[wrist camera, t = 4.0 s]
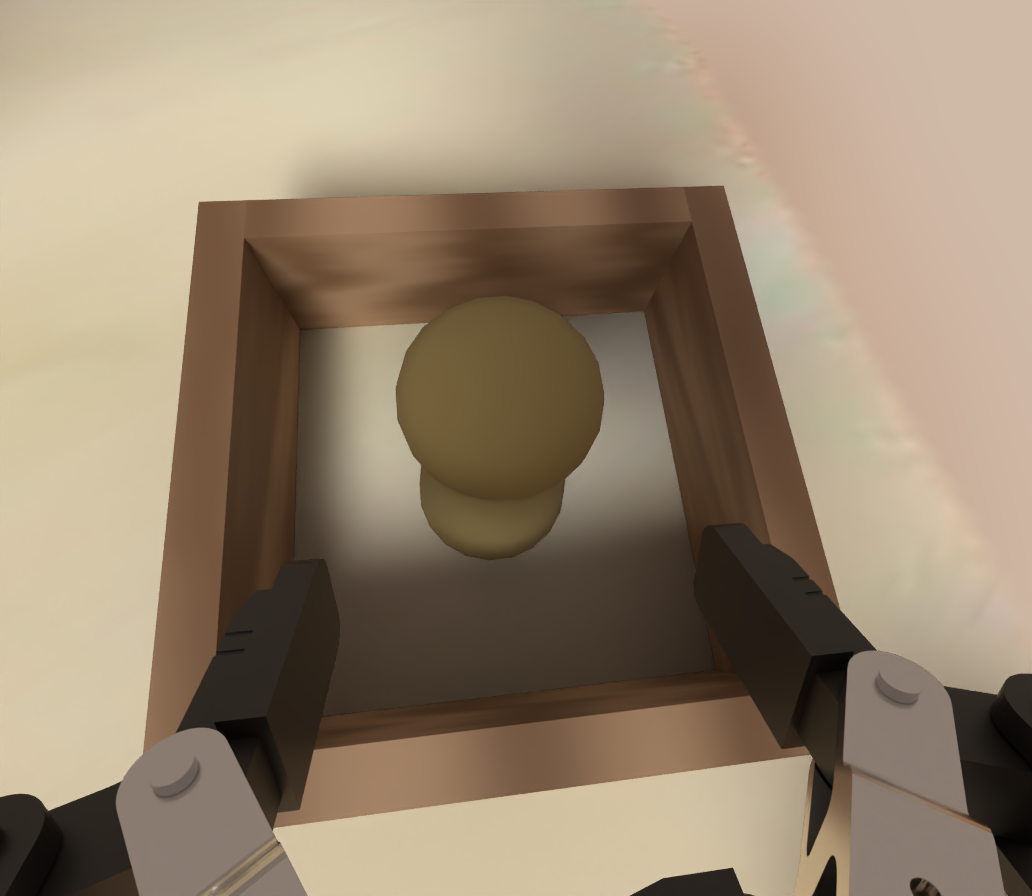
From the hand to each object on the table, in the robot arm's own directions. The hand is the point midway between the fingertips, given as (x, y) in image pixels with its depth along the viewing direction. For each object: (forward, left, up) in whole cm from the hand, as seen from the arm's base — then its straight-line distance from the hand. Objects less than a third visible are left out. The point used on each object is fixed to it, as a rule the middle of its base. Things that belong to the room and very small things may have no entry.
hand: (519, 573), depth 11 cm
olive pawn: (-1, +4, -10) cm, 11 cm away
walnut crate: (-1, +4, -10) cm, 11 cm away
